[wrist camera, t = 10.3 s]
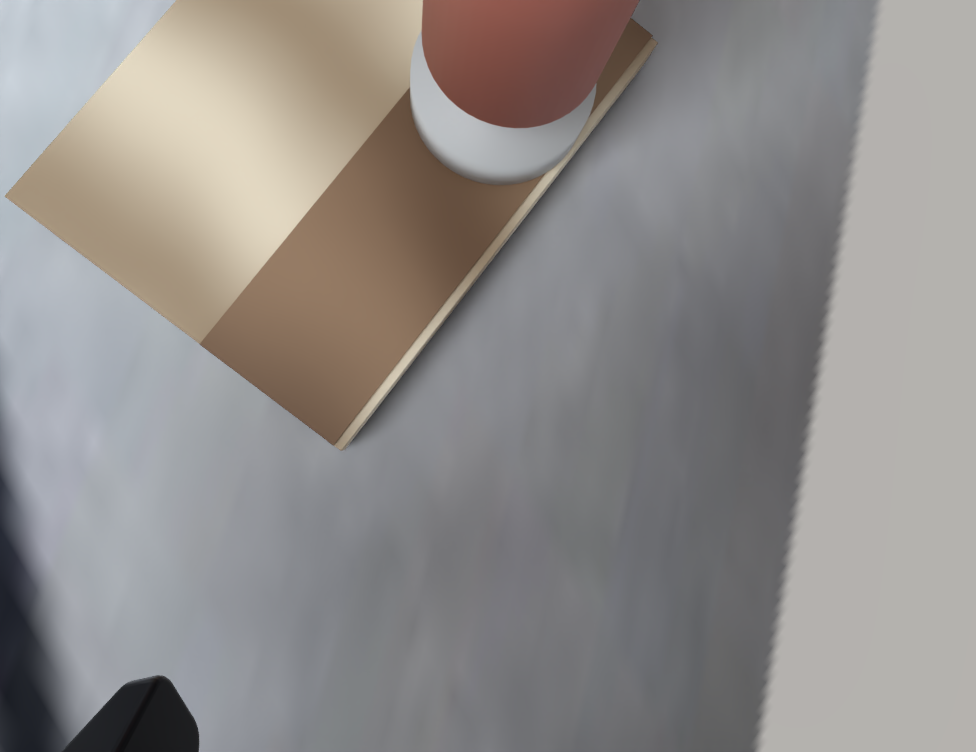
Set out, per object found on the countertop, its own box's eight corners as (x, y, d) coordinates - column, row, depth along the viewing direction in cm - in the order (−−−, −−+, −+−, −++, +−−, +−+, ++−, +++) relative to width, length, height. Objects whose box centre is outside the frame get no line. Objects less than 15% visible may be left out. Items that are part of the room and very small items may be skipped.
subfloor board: (344, 449, 19) (340, 451, 18) (29, 211, 19) (2, 194, 17) (643, 65, 20) (659, 40, 19) (355, -163, 20) (352, -204, 19)
